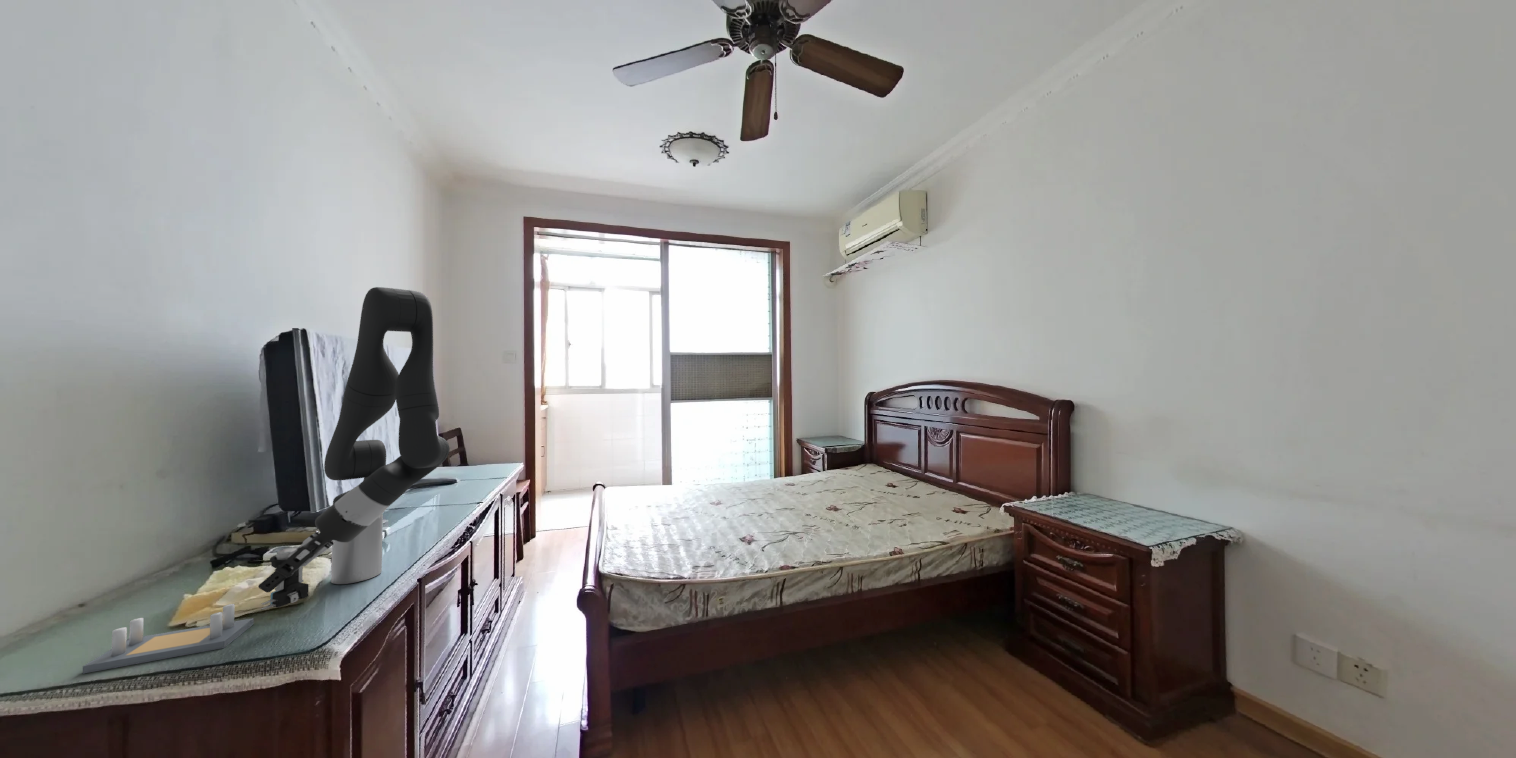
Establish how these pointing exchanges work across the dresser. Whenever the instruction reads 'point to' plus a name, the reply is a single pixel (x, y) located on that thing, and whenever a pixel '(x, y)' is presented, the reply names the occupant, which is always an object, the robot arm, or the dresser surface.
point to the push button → (287, 583)
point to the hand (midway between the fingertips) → (271, 583)
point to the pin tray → (168, 641)
